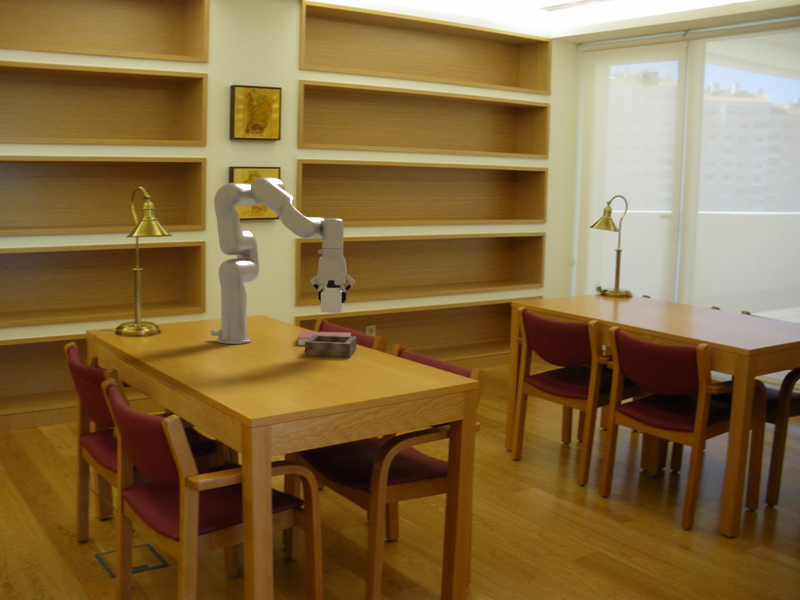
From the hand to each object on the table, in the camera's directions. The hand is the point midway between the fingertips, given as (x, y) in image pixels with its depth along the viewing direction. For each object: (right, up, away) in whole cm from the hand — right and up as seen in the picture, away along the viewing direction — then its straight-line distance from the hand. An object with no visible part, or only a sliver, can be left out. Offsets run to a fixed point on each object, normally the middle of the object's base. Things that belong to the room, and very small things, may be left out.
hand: (332, 302), depth 299 cm
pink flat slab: (-5, -16, +23) cm, 28 cm away
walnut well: (-1, -18, +2) cm, 18 cm away
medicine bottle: (0, -3, 0) cm, 3 cm away
